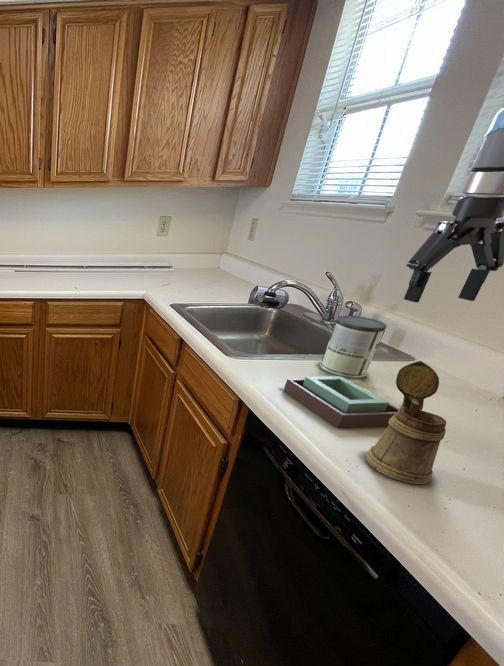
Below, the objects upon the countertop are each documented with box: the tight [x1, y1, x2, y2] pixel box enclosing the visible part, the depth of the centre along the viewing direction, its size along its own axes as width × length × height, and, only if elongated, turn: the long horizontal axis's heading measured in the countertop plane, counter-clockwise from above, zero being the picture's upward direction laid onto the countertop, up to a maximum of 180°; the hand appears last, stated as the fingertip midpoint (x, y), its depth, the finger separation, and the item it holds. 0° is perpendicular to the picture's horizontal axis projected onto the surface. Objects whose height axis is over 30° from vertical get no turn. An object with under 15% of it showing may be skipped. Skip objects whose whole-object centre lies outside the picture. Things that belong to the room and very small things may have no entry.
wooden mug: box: [365, 360, 447, 485], centre depth 74 cm, size 9×14×18 cm, turn 155°
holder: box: [283, 378, 400, 429], centre depth 96 cm, size 17×15×3 cm
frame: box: [302, 375, 390, 413], centre depth 95 cm, size 13×9×4 cm
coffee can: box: [319, 315, 388, 379], centre depth 111 cm, size 10×10×14 cm
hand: (438, 300), depth 92 cm, fingers open, 13 cm apart
